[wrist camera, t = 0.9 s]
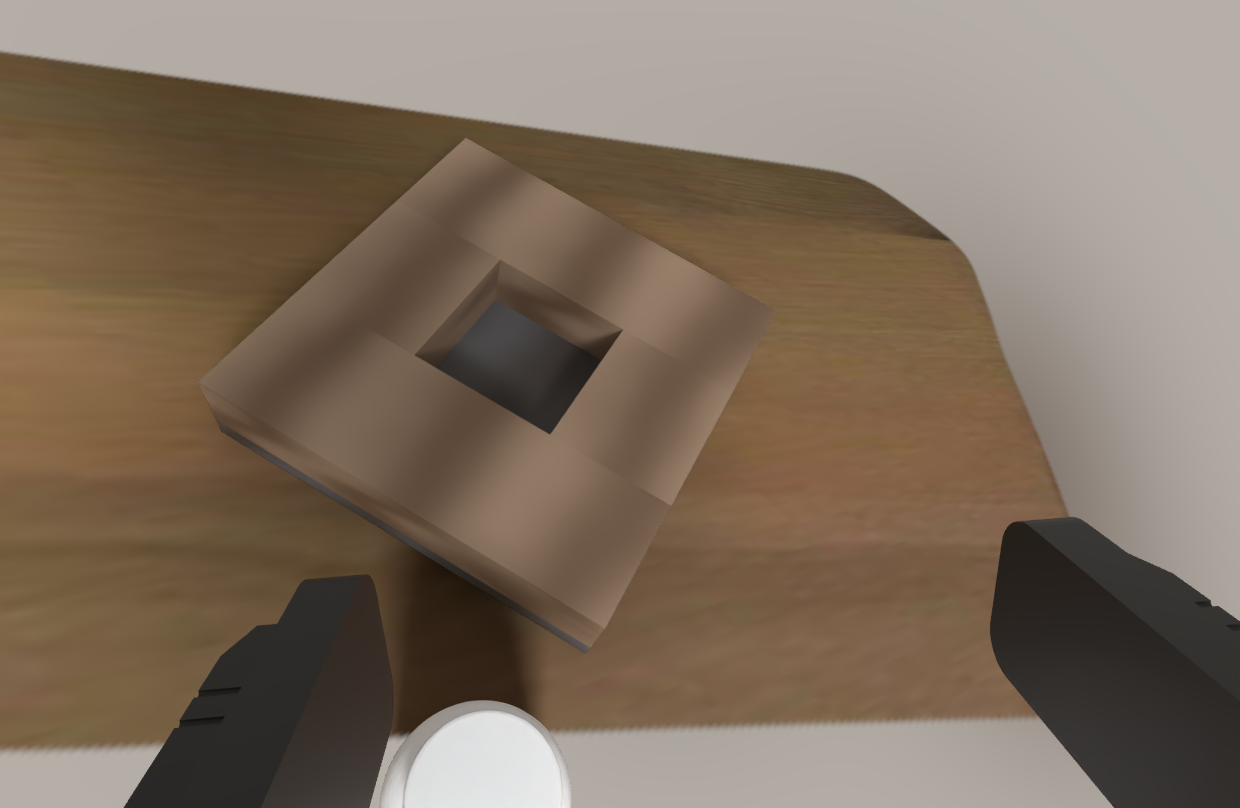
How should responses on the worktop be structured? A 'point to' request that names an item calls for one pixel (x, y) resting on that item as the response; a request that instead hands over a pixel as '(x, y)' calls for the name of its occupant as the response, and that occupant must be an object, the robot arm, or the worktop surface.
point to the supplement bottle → (478, 762)
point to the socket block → (498, 385)
